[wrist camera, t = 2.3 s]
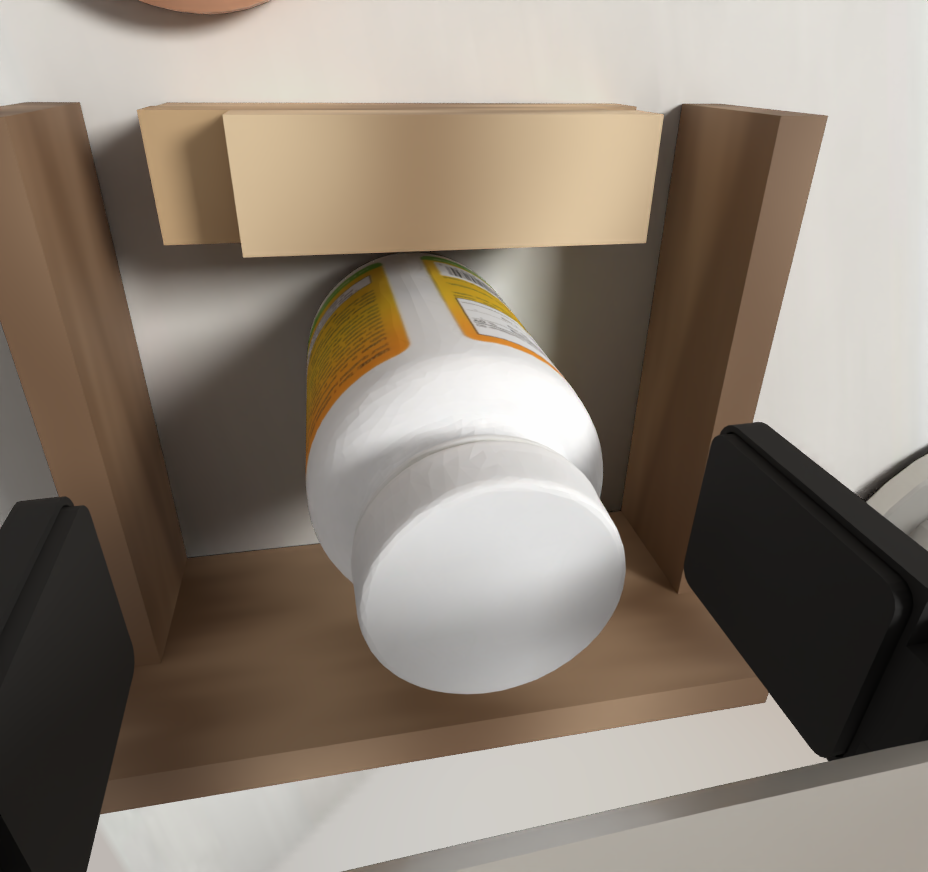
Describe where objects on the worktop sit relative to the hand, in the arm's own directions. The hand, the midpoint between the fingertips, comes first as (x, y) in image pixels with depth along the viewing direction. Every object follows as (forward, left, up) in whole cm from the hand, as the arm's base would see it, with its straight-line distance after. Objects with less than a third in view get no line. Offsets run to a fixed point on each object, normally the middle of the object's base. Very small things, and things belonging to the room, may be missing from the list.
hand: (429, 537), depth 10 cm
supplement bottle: (-1, 0, -9) cm, 9 cm away
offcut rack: (-1, 0, -9) cm, 9 cm away
